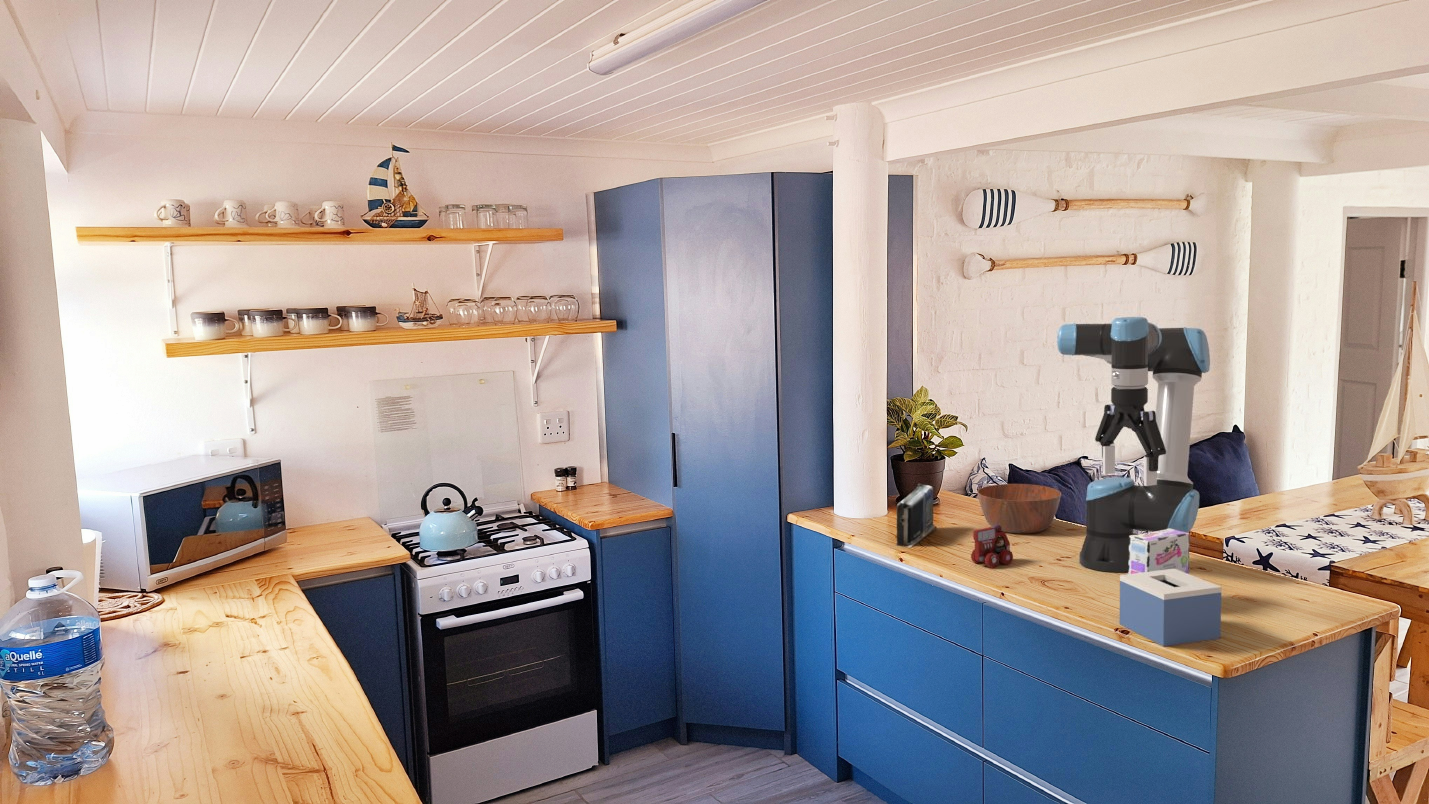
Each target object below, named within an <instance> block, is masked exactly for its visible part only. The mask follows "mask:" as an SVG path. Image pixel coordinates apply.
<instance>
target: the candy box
mask: <svg viewBox="0 0 1429 804" xmlns="http://www.w3.org/2000/svg"><path fill="white" fill-rule="evenodd" d="M1167 569H1177V570H1179V571H1182V572H1185V573H1187V574H1190V533H1189V532H1188V533H1186V532H1182V531H1179V530H1174V529H1170V528H1169V529H1166V530H1161V531H1155V532H1152V531H1148V532H1144V533H1139V534H1133V535H1130V536H1129V566H1128V571H1127V574H1134V573H1142V572H1150V571H1158V570H1167Z"/></svg>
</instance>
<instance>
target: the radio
mask: <svg viewBox="0 0 1429 804" xmlns="http://www.w3.org/2000/svg"><path fill="white" fill-rule="evenodd" d="M933 493H934V487H933V486H932V485H928V484H922V483H917V486H916V487H915V488H914V489H913V491H912V492H910V493H909V494H908V495H907V496H906V497H904V498H903V499H902V500H901V501H899V502H898V503H897V506H896V543H895V546H897V547H898V546H899V547H903V548H909V549H911V548H913V547H914V546H916V545H917V544H918V543H919V542H921V541H922V540H924V539H926V537H928V536H930V535H931V534H932V533H933V532H935V531H936V530H937V529H938V527H937V526H936V525H935V524H934V494H933Z"/></svg>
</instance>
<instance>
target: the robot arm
mask: <svg viewBox="0 0 1429 804" xmlns="http://www.w3.org/2000/svg"><path fill="white" fill-rule="evenodd" d="M1057 331H1058V332H1057V336H1056V343H1057V344H1056V345H1057V350H1058V352H1059V353H1060V354H1061V355H1063V356H1064V355H1065V356H1072V357H1073V356H1085V357H1091V358H1096V359H1100V360H1104V361H1105V362H1106V363H1108V364H1109V365H1111V377H1110V378H1111V385H1112V388H1111V389H1110V401H1111V404H1105V405H1104V406H1103V407H1104V410H1103V416H1102V418H1101V420H1100V424H1099V427H1098V430H1097V432H1096V435H1095V438H1094V441H1095V442H1097V443H1099V444H1100V446H1101V458H1102V474H1103V475H1112V474H1116V445H1115V440H1116V439H1117V438H1118V436H1119V434H1120V433H1121V432H1122V431H1123V428H1127V429H1130V430H1131V431H1132V432H1134V433H1135V435H1136V437H1137V439H1138V440H1139V443H1140V444H1141V446H1142V448H1143V450H1144V452H1145V453H1146V454H1145V455H1144V456H1143V483H1142V485H1138V484H1137V485H1135V484H1136V482H1135V481H1134V479H1133V478H1130V477H1109V478H1102V479H1096V480H1093V481H1092V482H1089V484H1088V485H1087V489H1086V498H1085V501H1086V507H1085V508H1086V510H1085V511H1086V515H1085V516H1086V522H1085V523H1086V524H1085V525H1086V528H1085V529H1086V532H1085V533H1086V535H1085V537H1084V541H1083V544H1082V546H1081V550H1080V553H1079V559H1078V562H1079V564H1080V565H1081V566H1083V567H1084V568H1088V569H1090V570H1094V571H1101V572H1107V573H1109V572H1111V573H1125V572H1127V573H1128V566H1129V536H1130V535H1134V530H1137V531H1145V532H1155V531H1161V530H1166V529H1169V528H1170V529H1174V530H1179V531H1182V532H1186V533H1189V532H1191V530H1192V529H1193V527H1194V525H1195V523H1196V520H1197V517H1198V513H1199V507H1200V492H1199V491H1198V490H1196V489H1194V482H1193V481H1191V479H1190V478H1189V476H1188V471H1189V456H1190V445H1191V431H1192V423H1193V422H1192V421H1193V407H1194V396H1195V395H1194V394H1195V393H1194V392H1195V386H1196V385H1198V383H1200V382H1202V376H1203V374H1206V373H1208V372H1210V368H1211V367H1210V366H1211V355H1210V348H1209V342H1208V338H1207V334H1206V333H1205V331H1204V330H1202V329H1201V328H1197V327H1186V326H1185V327H1163V328H1162V327H1158V326H1157V325H1156V324H1154V323H1152V322H1149V320H1148V319H1147V318H1146V317H1143V316H1126V317H1125V316H1124V317H1116V318H1114V319H1113V320H1112V321H1111V323H1066V324H1062V325H1061V326H1060V327H1059V329H1058V330H1057ZM1149 372H1150V373H1152V379H1153V380H1155V382H1156V383H1157V394H1156V395H1157V396H1156V404H1155V405H1156V406H1155V410H1145V405H1147V403H1148V402H1149V401H1148V400H1149V397H1148V396H1149V389H1148V388H1147V385H1148V384H1149Z"/></svg>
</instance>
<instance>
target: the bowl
mask: <svg viewBox="0 0 1429 804" xmlns="http://www.w3.org/2000/svg"><path fill="white" fill-rule="evenodd" d="M976 493H977V497H978V501H979V505H980V508H981V511H982V514H983V516H984V519H985V520H986V522H987V523H988V525H989V527H993V528H994V526H995V525H1000V526H1001V528H1002V531H1004V532H1005V533H1006V534H1019V535H1026V534H1027V535H1028V534H1035V533H1041V532H1043V531H1045V530H1047V529H1048V528H1049V527H1050V526H1051V524H1052V522H1053V521H1054V518H1055V516H1056V514H1057V511H1058V510H1059V509H1058V508H1059V506H1060V503H1061V502H1060V501H1061V497H1062V492H1061V491H1060V490H1058V489H1056V488H1052V487H1049V486H1044V485H1037V484H1028V483H1002V484H1001V483H1000V484H993V485H987V486H986V485H985V486H983V487H980V488H978V489H977V492H976Z"/></svg>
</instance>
